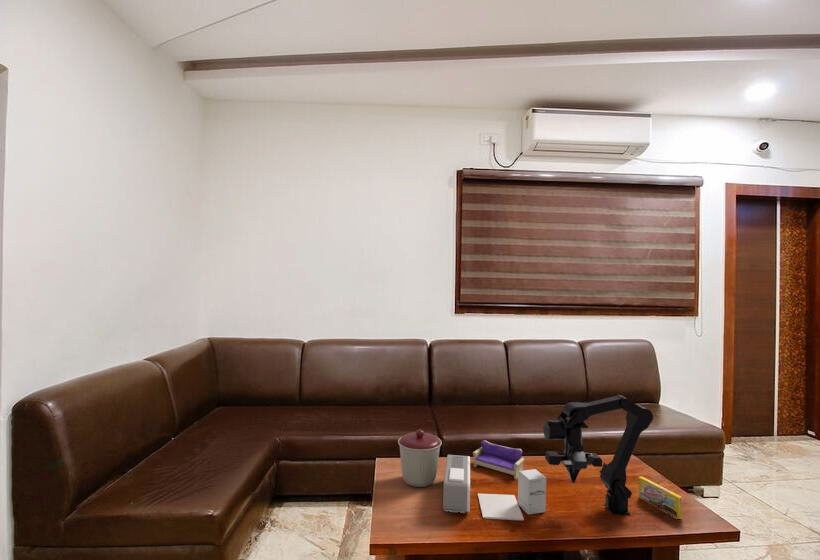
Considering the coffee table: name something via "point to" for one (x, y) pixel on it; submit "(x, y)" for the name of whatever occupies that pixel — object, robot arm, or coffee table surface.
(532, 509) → the supplement box
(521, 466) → the toy sofa
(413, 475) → the canister
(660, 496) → the candy box
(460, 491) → the grey boxy piece
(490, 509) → the white flat panel
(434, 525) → the coffee table surface
